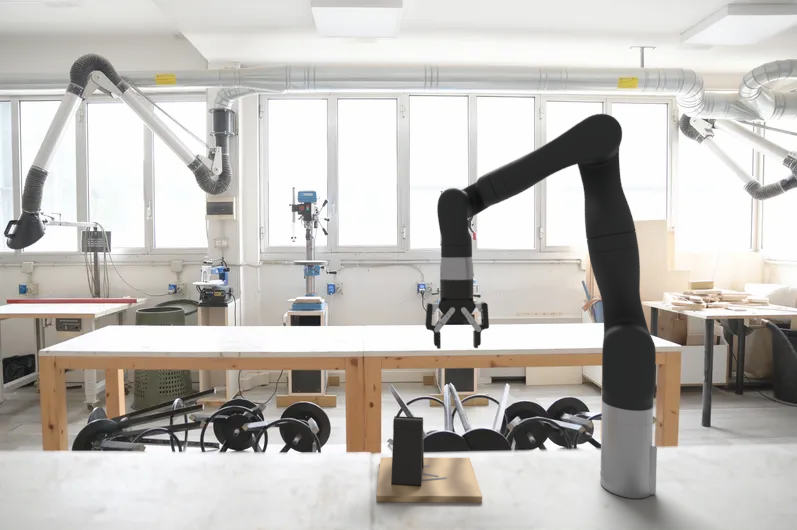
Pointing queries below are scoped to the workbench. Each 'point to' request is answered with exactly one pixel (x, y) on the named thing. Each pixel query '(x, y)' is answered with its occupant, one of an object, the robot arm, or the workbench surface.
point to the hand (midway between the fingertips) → (457, 347)
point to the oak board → (432, 482)
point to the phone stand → (407, 451)
